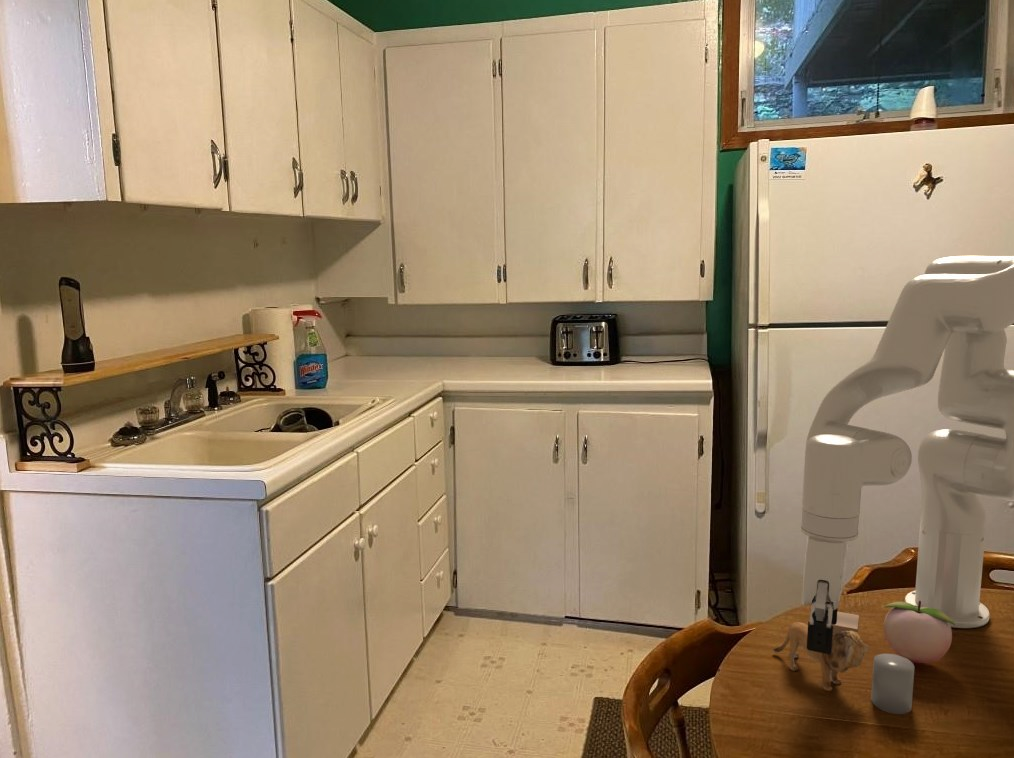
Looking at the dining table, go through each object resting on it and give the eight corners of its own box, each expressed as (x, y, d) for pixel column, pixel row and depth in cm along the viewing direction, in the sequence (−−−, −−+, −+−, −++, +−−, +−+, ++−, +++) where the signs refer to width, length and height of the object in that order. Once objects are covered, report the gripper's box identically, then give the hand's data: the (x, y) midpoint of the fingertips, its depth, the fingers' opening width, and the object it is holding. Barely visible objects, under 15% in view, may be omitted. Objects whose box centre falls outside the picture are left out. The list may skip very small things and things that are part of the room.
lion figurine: (871, 691, 109) (875, 632, 108) (849, 704, 107) (853, 643, 105) (783, 648, 122) (785, 595, 120) (761, 659, 119) (763, 604, 117)
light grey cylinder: (871, 689, 110) (874, 650, 109) (911, 698, 108) (914, 658, 107) (870, 708, 105) (873, 668, 104) (911, 717, 103) (914, 676, 102)
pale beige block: (831, 633, 126) (832, 610, 125) (857, 638, 124) (859, 615, 123) (828, 647, 122) (829, 624, 121) (856, 653, 120) (857, 629, 119)
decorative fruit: (881, 671, 114) (885, 608, 113) (880, 645, 122) (884, 585, 120) (954, 685, 110) (959, 619, 109) (949, 657, 118) (953, 595, 116)
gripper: (807, 502, 118) (801, 607, 121) (793, 538, 103) (786, 657, 106) (861, 509, 115) (853, 617, 118) (855, 547, 100) (846, 670, 102)
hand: (822, 636), depth 112 cm, fingers open, 9 cm apart
